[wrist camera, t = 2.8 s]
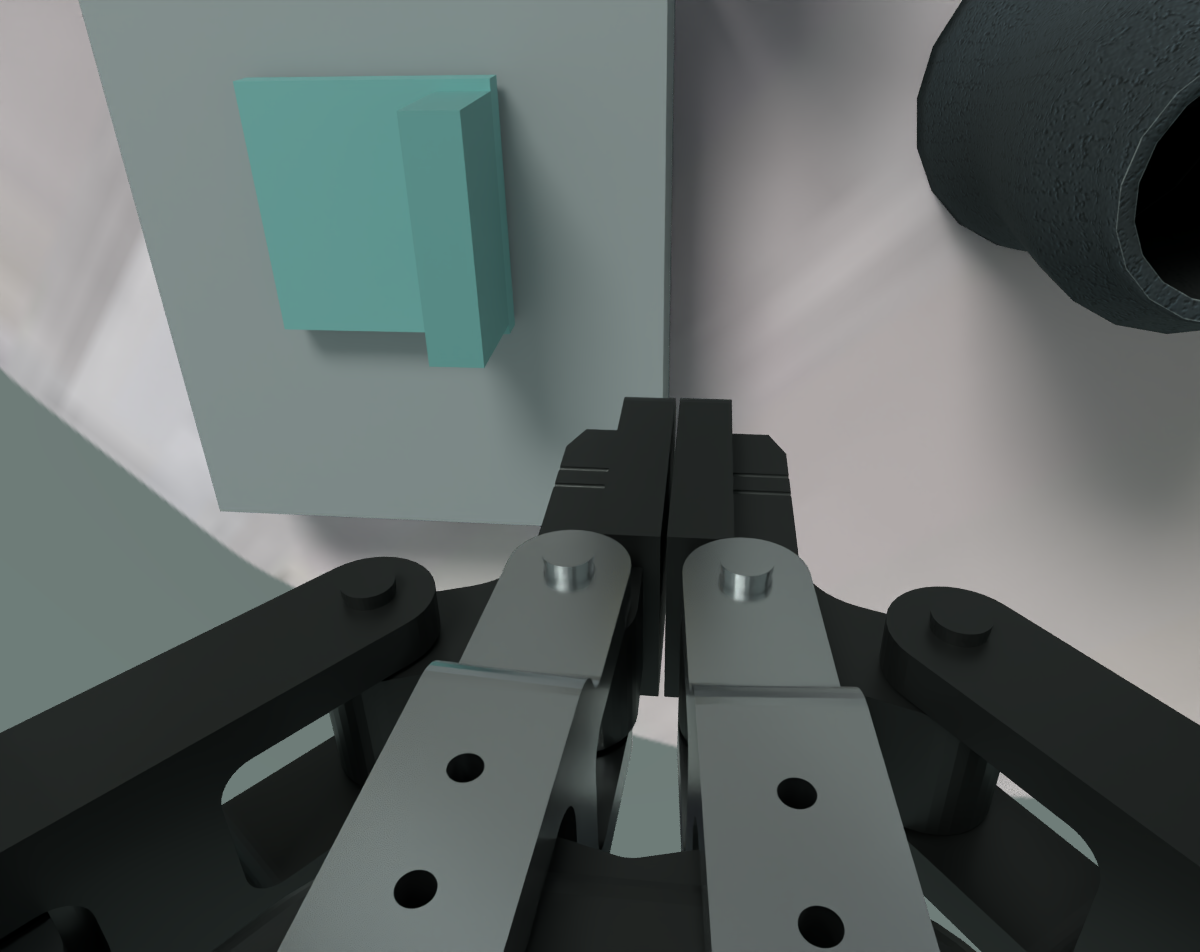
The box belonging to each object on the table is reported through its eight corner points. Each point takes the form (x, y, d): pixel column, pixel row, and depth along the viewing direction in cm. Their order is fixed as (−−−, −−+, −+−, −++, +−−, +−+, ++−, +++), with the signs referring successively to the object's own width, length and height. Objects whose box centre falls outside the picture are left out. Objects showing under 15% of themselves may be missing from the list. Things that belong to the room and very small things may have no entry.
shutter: (496, 74, 24) (458, 96, 21) (515, 324, 28) (485, 378, 24) (246, 77, 25) (169, 98, 21) (295, 320, 28) (236, 371, 25)
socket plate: (676, -82, 26) (668, -86, 22) (667, 472, 35) (661, 531, 31) (143, -66, 27) (60, -67, 24) (267, 457, 36) (220, 511, 33)
